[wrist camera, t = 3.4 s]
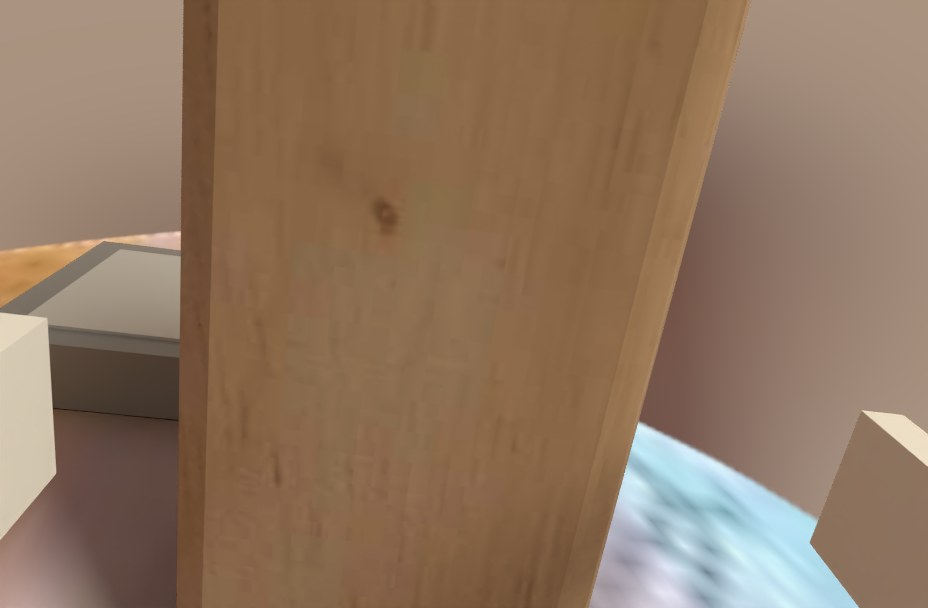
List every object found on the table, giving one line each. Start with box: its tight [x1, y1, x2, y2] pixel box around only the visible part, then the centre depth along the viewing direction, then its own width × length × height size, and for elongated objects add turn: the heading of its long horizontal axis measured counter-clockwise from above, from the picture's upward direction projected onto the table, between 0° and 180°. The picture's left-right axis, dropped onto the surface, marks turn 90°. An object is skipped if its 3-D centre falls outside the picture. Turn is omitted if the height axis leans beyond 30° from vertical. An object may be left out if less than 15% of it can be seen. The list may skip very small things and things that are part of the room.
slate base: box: [0, 241, 181, 420], centre depth 36 cm, size 14×14×3 cm
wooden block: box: [177, 0, 751, 608], centre depth 19 cm, size 10×10×20 cm
